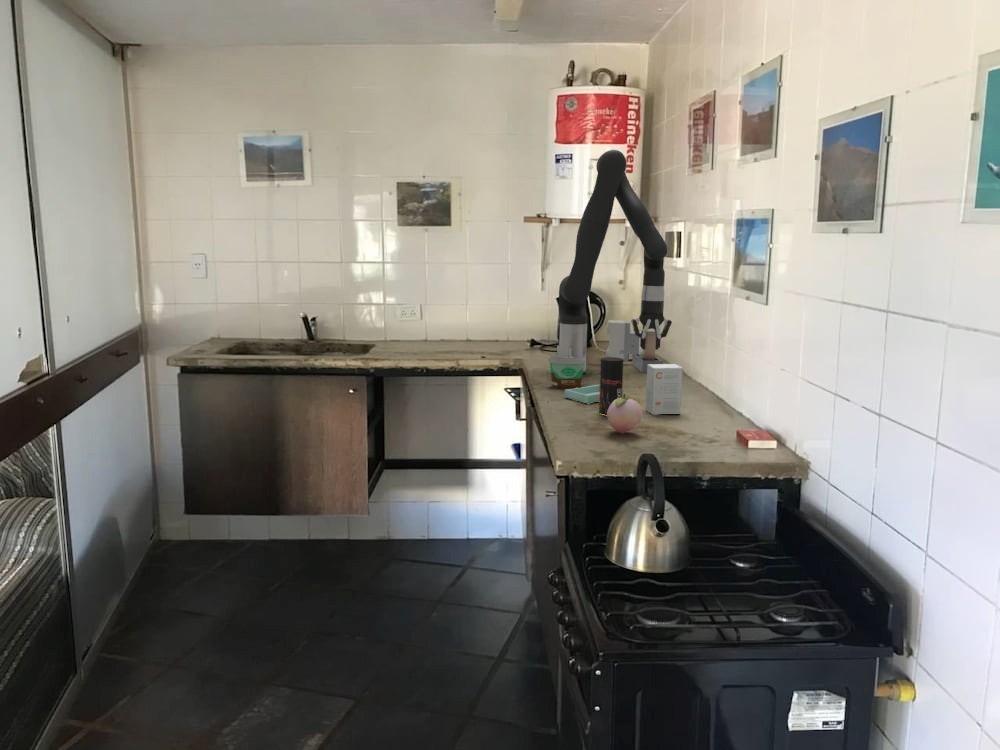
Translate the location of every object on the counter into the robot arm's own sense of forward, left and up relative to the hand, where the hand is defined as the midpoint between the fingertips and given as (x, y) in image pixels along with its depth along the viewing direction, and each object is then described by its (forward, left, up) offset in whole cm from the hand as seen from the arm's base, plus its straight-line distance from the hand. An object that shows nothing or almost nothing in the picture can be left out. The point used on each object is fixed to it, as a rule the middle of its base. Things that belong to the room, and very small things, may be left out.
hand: (649, 348), depth 273 cm
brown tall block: (0, 0, -5) cm, 5 cm away
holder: (+2, +3, -9) cm, 9 cm away
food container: (-39, -3, -9) cm, 40 cm away
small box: (-41, -43, -9) cm, 60 cm away
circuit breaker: (+10, +21, -9) cm, 25 cm away
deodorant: (-54, -36, -9) cm, 65 cm away
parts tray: (-44, -19, -9) cm, 48 cm away
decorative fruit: (-66, -53, -9) cm, 85 cm away
